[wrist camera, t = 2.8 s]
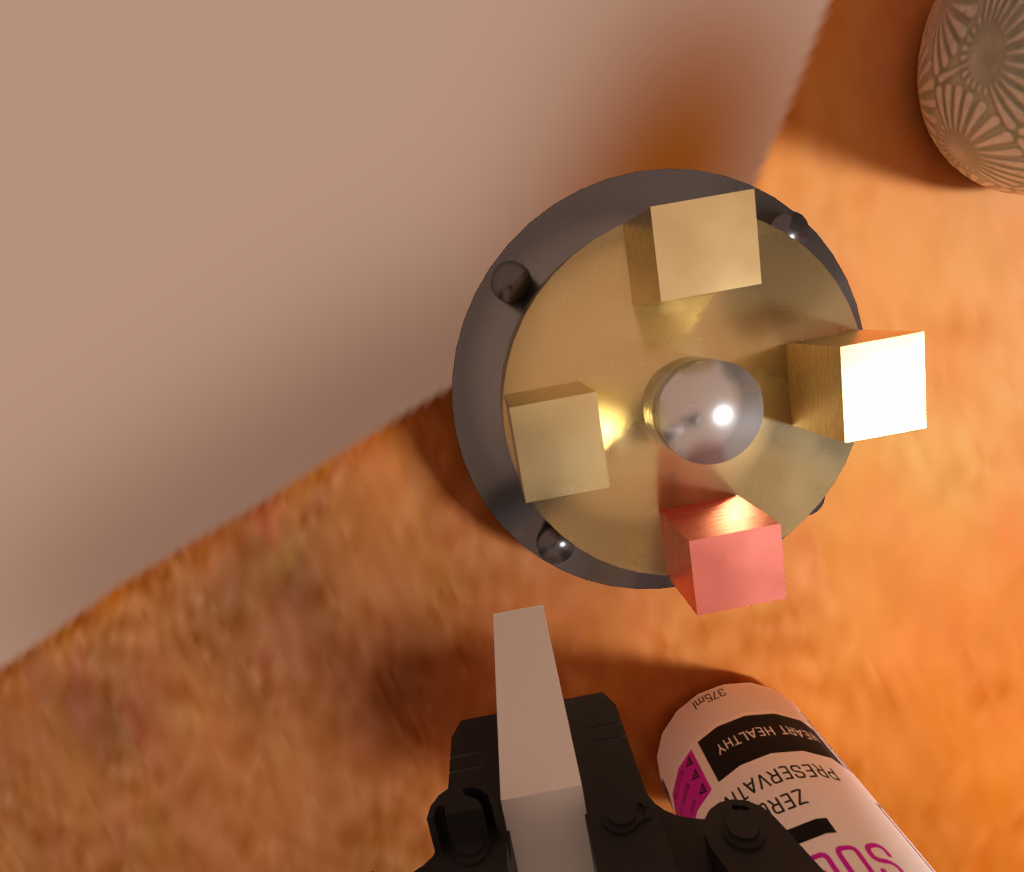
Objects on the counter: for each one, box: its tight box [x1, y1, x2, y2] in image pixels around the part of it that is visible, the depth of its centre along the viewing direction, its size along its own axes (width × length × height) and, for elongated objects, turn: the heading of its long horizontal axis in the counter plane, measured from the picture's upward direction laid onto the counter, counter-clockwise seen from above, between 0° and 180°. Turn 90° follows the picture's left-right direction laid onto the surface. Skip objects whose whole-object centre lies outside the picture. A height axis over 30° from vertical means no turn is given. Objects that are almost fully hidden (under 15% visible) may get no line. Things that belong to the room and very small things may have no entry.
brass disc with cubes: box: [500, 189, 926, 615], centre depth 21 cm, size 14×14×6 cm
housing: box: [452, 169, 863, 589], centre depth 23 cm, size 18×18×8 cm
